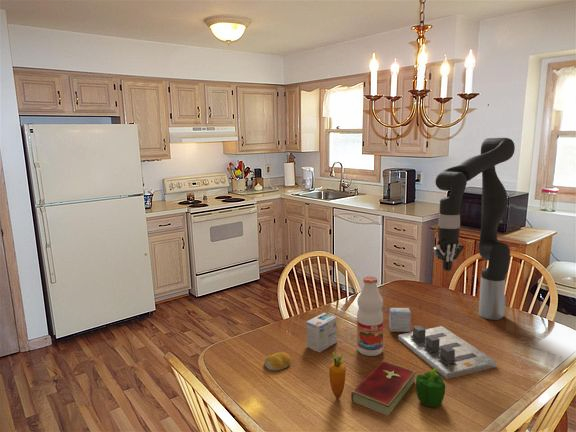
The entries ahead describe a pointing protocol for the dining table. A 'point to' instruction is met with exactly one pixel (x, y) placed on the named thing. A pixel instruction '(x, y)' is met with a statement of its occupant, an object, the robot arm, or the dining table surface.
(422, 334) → the lever right
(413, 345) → the switch panel
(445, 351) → the lever
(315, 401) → the dining table surface
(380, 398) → the hardcover book
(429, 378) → the bell pepper
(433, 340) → the lever middle
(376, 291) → the fruit juice
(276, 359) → the bread roll
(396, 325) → the medicine box
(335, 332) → the light bulb box
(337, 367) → the carrot
